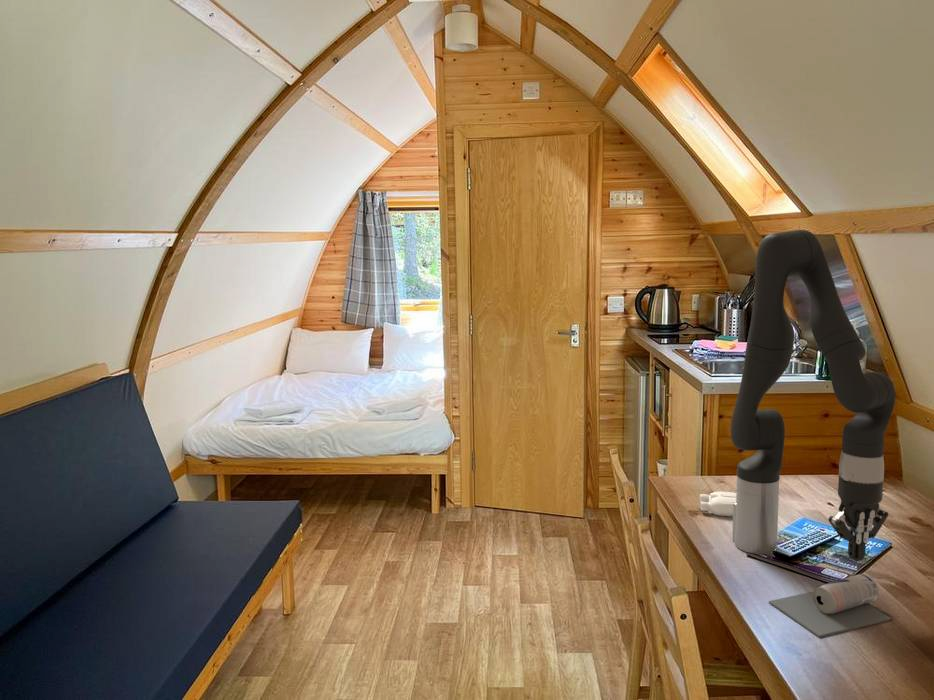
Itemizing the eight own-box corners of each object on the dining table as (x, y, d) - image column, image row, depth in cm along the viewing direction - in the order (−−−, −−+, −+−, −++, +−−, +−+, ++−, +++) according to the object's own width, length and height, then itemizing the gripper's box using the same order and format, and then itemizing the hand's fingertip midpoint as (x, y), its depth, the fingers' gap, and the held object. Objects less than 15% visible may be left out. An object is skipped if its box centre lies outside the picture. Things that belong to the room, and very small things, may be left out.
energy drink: (851, 574, 140) (807, 587, 136) (873, 572, 136) (828, 585, 131) (861, 601, 139) (817, 615, 134) (884, 600, 134) (839, 614, 130)
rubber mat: (768, 603, 138) (768, 601, 138) (836, 588, 143) (836, 586, 143) (818, 637, 126) (818, 635, 126) (890, 620, 131) (891, 618, 131)
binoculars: (766, 522, 177) (766, 505, 177) (700, 517, 182) (701, 500, 182) (761, 507, 187) (762, 490, 187) (700, 502, 192) (700, 486, 191)
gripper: (871, 464, 138) (866, 545, 141) (818, 473, 134) (814, 556, 137) (904, 476, 131) (898, 561, 134) (850, 486, 127) (845, 573, 130)
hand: (856, 559), depth 136 cm, fingers closed
